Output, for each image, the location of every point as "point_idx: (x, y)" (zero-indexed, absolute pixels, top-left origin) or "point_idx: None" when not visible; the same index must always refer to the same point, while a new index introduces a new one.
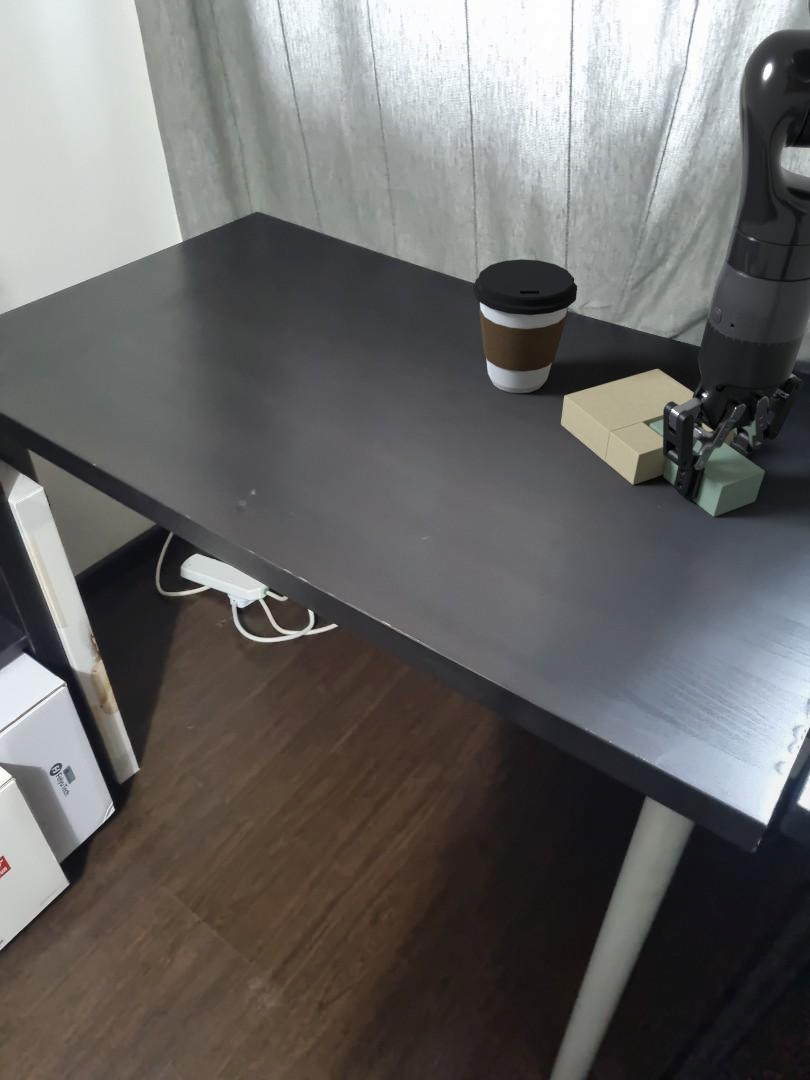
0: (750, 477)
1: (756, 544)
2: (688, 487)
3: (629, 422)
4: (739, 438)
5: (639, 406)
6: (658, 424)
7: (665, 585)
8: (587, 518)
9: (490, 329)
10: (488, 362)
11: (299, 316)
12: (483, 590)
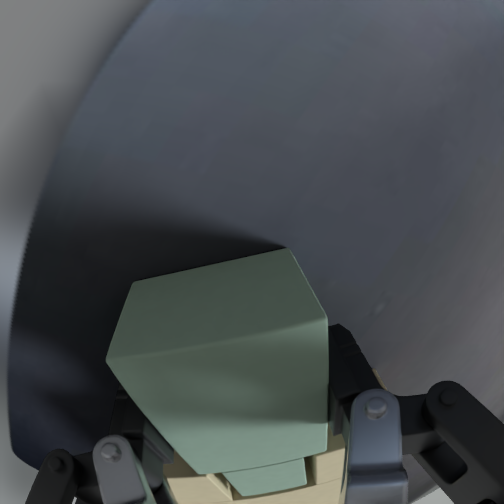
0: (174, 346)
1: (236, 97)
2: (343, 344)
3: (339, 480)
4: (158, 472)
5: (290, 501)
6: (294, 484)
7: (494, 84)
8: (483, 293)
9: None
10: None
11: (408, 493)
12: None
